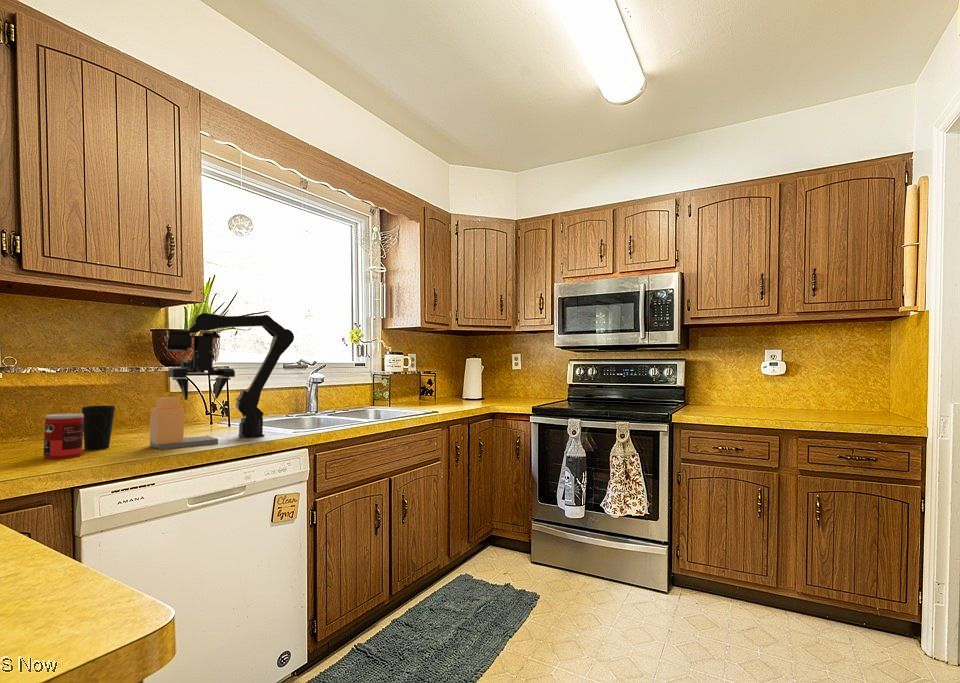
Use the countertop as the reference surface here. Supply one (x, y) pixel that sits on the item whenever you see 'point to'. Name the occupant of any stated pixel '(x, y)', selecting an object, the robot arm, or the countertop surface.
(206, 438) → the board
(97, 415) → the cup
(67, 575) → the countertop surface
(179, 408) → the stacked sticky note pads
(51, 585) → the countertop surface
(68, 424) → the canned food
